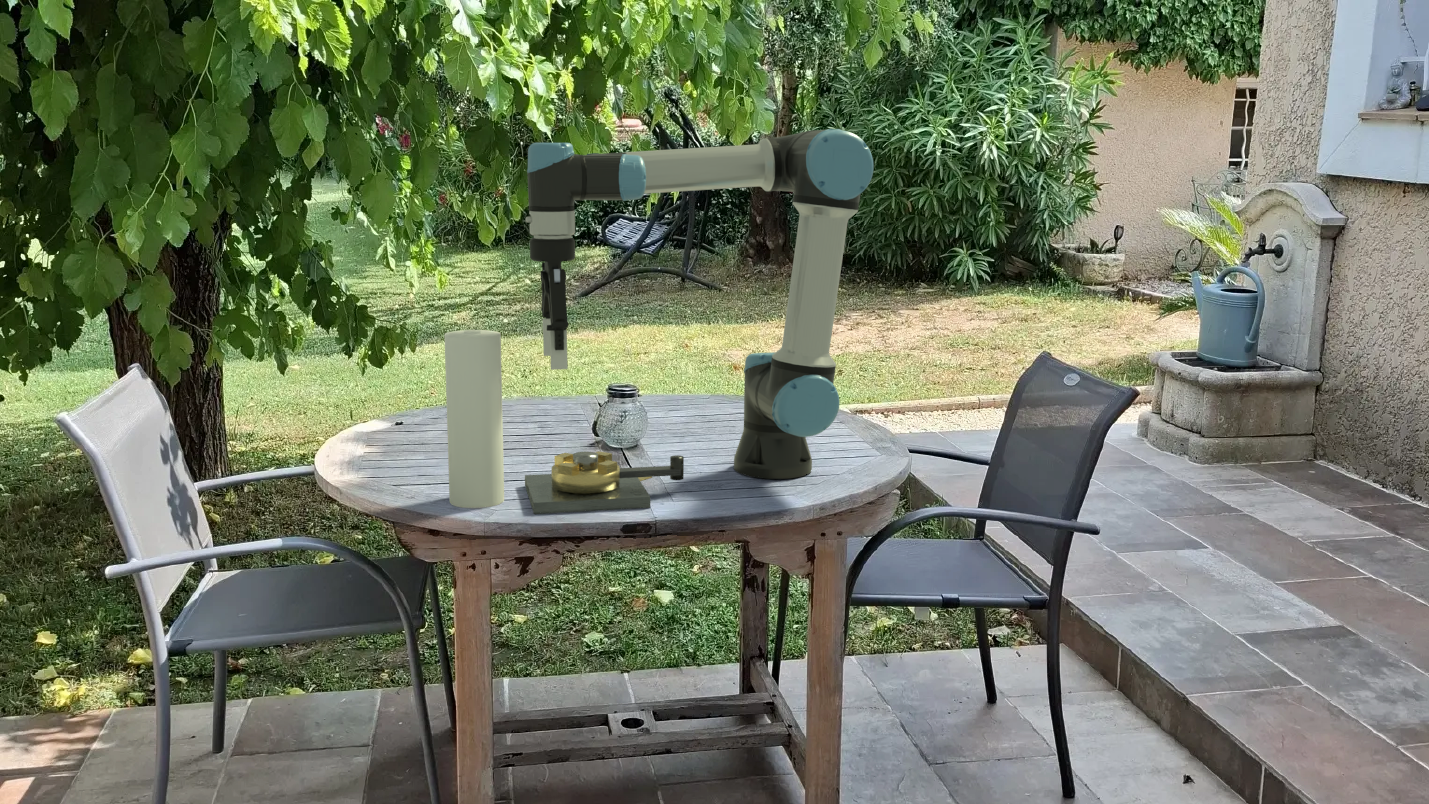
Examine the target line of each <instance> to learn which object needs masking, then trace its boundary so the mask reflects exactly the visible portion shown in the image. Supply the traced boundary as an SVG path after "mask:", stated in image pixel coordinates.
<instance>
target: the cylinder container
mask: <svg viewBox="0 0 1429 804" xmlns="http://www.w3.org/2000/svg"><path fill="white" fill-rule="evenodd" d="M501 334H502V333H501V332H499V331H495V330H488V329H462V330H453V331H448V332H444V360H445V361H444V363H445V365H444V366H445V367H444V368H445V397H446V399H445V401H446V425H447V426H446V428H447V429H446V431H447V458H448V462H447V463H448V491H449V492H448V495H449V497H448V498H449V504H450V503H451V505H452V506H453V507H457V508H462V509H483V508H484V509H485V508H491V507H495V506H498V505H500V504H503V503H504V502H505V477H504V476H505V473H504V471H505V470H504V468H505V467H504V429H503V428H504V426H503V425H504V423H503V386H502V385H503V381H502V379H503V377H502V372H503V371H502V340H501V339H502V338H501V337H502V335H501Z"/></svg>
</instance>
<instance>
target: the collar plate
mask: <svg viewBox="0 0 1429 804" xmlns="http://www.w3.org/2000/svg"><path fill="white" fill-rule="evenodd" d="M651 478H653V477H635V478H620V485H619V486H618V487H617V488H615V489H613V490H609V491H605V492H599V493H569V492H564V491H560V490H557V489H555V488H553V487H552V473H544V474H543V473H542V474H540V473H539V474H525V475H524V487H525V491H526V492H527V493H526V494H527V497H528V500H529V503H530V506H531V510H532V514H533V515H541V514H542V515H546V514H560V513H563V514H564V513H579V512H580V513H582V512H584V513H585V512H596V511H597V512H599V511H616V510H617V511H618V510H638V509H650V508H651V495H650V494H649V492H648V491H647V489H646V488H645V486H644V485H643V484H642V481H645V480H649V479H651Z"/></svg>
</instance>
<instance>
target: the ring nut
mask: <svg viewBox="0 0 1429 804" xmlns="http://www.w3.org/2000/svg"><path fill="white" fill-rule="evenodd" d="M669 458H670V459H669V460H670V461H669V462H670V463H669V464H670V465H662V466H659V465H657V466H656V465H655V466H640V467H639V466H638V467H620V465H619V464H618V461H615V460H613V453H611V452H606V451H600V450H599V451H578V452H574V453H569V452H563V453H560V454H557V455H554V464H553V465H552V466H551V474H552V487H553V488H555V489H557V490H560V491H564V492H569V493H599V492H605V491H609V490H613V489H615V488H617V487H618V486H619V485H620V478H635V477H652V478H653V477H669V479H670V480H672V481H681V480H684V476H685V475H684V474H685V473H684V465H685V464H684V458H685V457H684V456H683V455H672V456H670V457H669Z"/></svg>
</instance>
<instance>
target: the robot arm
mask: <svg viewBox="0 0 1429 804" xmlns="http://www.w3.org/2000/svg"><path fill="white" fill-rule="evenodd" d="M526 172H527V192H528V194H527V195H528V211H529V216H526V217H525V222H526V223H530V224H529V234H530V235H531V236H533V237H531V238H530V239H529V257H530V260H532V261H534V262H541V263H542V264H541V265H540V266H541V270H540V273H539V275H540V281H541V284H540V285H541V286H540V287H541V307H540V311H541V316H542V317H543V318H542V338H543V339H542V340H543V344H542V345H543V347H542V348H543V356H544V357H549V356H550V357H549V358H550V370H554V371H555V370H568V366H569V365H568V331H567V329H568V327H569V322H568V309H567V296H566V292H567V286H566V281H567V273H566V271H565V269H564V268H562V262H570V261H573V260H575V259H576V239H574V238H573V237H572V236H574V234H575V233H576V217H575V216H576V215H575V214H576V213H575V201H623V202H625V201H632V200H633V201H634V200H640V199H642V198H643V197H644V194H647V195H648V194H659V193H660V194H661V193H674V192H677V193H678V192H688V191H689V192H692V191H706V190H721V189H723V190H724V189H738V188H754V187H760V188H762V189H763V190H764V191H765V192H774V191H775V192H777V191H778V192H781V191H782V192H791V193H793V199H792V205H793V206H794V208H795V209H796V210H797V212H798V214H799V215H798V216H799V218H798V224H797V232H796V240H795V249H794V255H793V262H792V269H791V276H790V283H789V284H790V285H789V292H788V298H787V306H786V314H785V321H784V328H783V329H784V330H783V335H782V336H783V337H782V344H781V347H780V349H778V350H777V351H776V352H774V351H773V352H754V353H750V354H748V355H747V356H746V358H745V362H744V368H743V373H744V384H743V385H744V389H743V396H744V397H743V400H744V401H743V431H742V434H741V437H740V440H739V442H738V445H737V448H736V451H735V454H734V458H733V470H734V471H735V472H737V473H738V474H741V475H744V476H748V477H751V478H758V479H769V480H771V479H772V480H784V479H787V480H788V479H796V478H801V477H804V476H806V474H807V475H808V474H811V473H812V471H813V468H812V467H813V463H812V462H813V459H812V456H811V452H810V448H809V445H808V442H807V438H808V437H809V438H810V437H814V436H817V435H819V434H822V432H824V431H826V430H827V429H828V428H829V427H830V426H831V425H832V424H833V423H834V421H835V420H836V418H837V416H838V413H839V410H840V396H839V393H838V390H837V387H836V386H835V385H834V382H835V375H836V367H837V363H836V362H835V360H834V359H833V358H832V356H831V354H830V349H831V342H832V335H833V328H834V321H835V313H836V307H837V300H838V299H837V298H838V291H839V284H840V279H841V270H842V265H843V264H842V263H843V257H844V256H843V255H844V251H845V250H844V249H845V243H846V236H847V228H848V223H849V222H848V221H849V220H850V219H851V218H852V217H853V216H854V215H855V214H857V213H858V212H859V205H860V201H861V200H860V199H861V194H862V193H863V192H864V191H865V190H866V189H867V188H868V186H869V184H870V183H871V180H872V178H873V174H874V158H873V155H872V153H871V149H870V148H869V146H868V145H867V144H866V142H865V141H864V140H863V139H862V138H861V137H860V136H858V135H857V134H855V133H853V132H852V131H851V132H850V131H847V130H843V129H840V128H836V129H835V128H828V129H820V130H819V129H813V130H812V129H811V130H807V131H802V132H798V133H794V134H789V135H784V136H783V135H782V136H778V137H766V138H762V139H761V140H760V141H759V142H758V143H757V144H755V143H754V144H745V145H744V144H743V145H742V144H741V145H723V146H708V147H692V148H691V147H690V148H675V149H658V150H656V149H655V150H640V151H638V150H637V151H627V152H626V151H625V152H609V153H600V152H599V153H598V152H593V153H587V154H578V153H577V154H576V153H575V151H574V145H573V144H572V143H570V142H533V143H531V144H530V145H529V147H528V149H527V170H526ZM811 470H812V471H811Z"/></svg>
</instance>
